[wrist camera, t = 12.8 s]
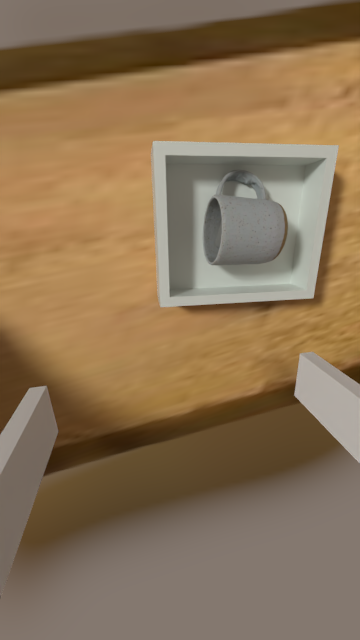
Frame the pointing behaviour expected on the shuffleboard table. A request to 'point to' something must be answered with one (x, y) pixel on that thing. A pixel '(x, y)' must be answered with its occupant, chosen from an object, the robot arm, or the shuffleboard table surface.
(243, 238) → the ceramic mug
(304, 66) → the shuffleboard table surface
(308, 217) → the bin
